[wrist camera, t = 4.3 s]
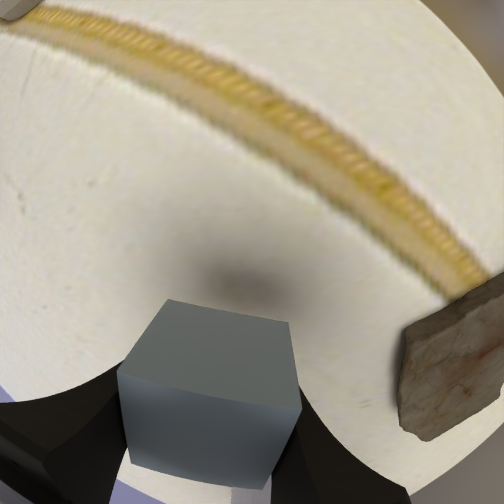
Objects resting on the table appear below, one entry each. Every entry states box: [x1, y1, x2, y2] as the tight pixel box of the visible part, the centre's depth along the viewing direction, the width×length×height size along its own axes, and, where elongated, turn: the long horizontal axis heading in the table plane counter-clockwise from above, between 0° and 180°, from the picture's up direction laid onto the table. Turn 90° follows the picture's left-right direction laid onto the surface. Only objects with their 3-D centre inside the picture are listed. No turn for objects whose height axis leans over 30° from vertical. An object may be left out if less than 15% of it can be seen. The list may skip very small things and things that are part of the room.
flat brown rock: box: [397, 272, 504, 442], centre depth 20 cm, size 17×15×4 cm
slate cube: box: [117, 299, 302, 490], centre depth 10 cm, size 5×5×5 cm
